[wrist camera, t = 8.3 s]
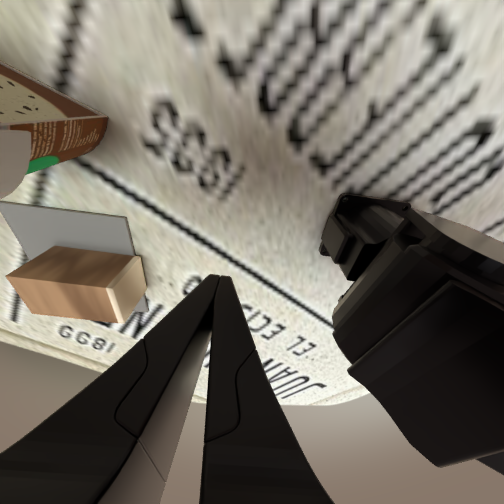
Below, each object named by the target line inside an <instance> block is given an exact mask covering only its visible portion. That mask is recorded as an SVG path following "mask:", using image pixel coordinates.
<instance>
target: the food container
mask: <svg viewBox="0 0 504 504" xmlns="http://www.w3.org/2000/svg"><path fill="white" fill-rule="evenodd" d="M107 121H108V116H106V115H104V114H102V113H100V112H98V111H96V110H94V109H92V108H90V107H88V106H87V105H85V104H83V103H81V102H79V101H77V100H75V99H73V98H71V97H69V96H67V95H65V94H63V93H61V92H59V91H58V90H56V89H54V88H52V87H50V86H48V85H46V84H44V83H42V82H40V81H38V80H36V79H34V78H32V77H30V76H29V75H27V74H25V73H23V72H21V71H19V70H17V69H15V68H13V67H11V66H9V65H7V64H5V63H3V62H2V61H0V199H2V198H4V197H5V196H7V195H9V194H10V193H12V192H13V191H14V190H15V189H16V188H17V187H18V186H19V185H20V183H21V182H22V180H23V178H24V176H25V175H27V174H29V173H32V172H35V171H38V170H41V169H44V168H47V167H50V166H52V165H55V164H58V163H61V162H64V161H67V160H70V159H73V158H75V157H78V156H81V155H84V154H87V153H89V152H90V151H92V150H93V149H94V148H95V147H96V146H97V145H98V144H99V143H100V141H101V140H102V138H103V136H104V133H105V131H106V128H107Z"/></svg>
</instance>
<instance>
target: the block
mask: <svg viewBox="0 0 504 504" xmlns="http://www.w3.org/2000/svg"><path fill="white" fill-rule="evenodd" d="M6 278H7V279H8V280H9V282H10V283H11V285H12V286H13V287H14V289H15V290H16V292H17V293H18V294H19V296H20V297H21V299H22V300H23V301H24V303H25V304H26V306H27V307H28V308H29V310H30V311H31V313H32V314H40V315H50V316H59V317H68V318H77V319H86V320H95V321H104V322H113V323H123V324H124V323H125V322H126V320H127V319H128V317H129V316H130V314H131V313H132V311H133V310H134V308H135V307H136V305H137V304H138V302H139V301H140V299H141V298H142V296H143V294H144V293H145V291H146V290H147V287H146V282H145V277H144V273H143V268H142V263H141V258H140V257H139V256H131V255H123V254H116V253H108V252H100V251H93V250H85V249H77V248H70V247H62V246H53V247H51V248H50V249H48V250H47V251H45V252H43V253H42V254H40V255H39V256H37V257H35V258H34V259H32V260H30V261H29V262H27V263H26V264H24V265H22V266H21V267H19V268H18V269H16V270H14V271H13V272H11V273H9V274H8V275H6Z"/></svg>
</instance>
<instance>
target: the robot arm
mask: <svg viewBox="0 0 504 504" xmlns="http://www.w3.org/2000/svg"><path fill="white" fill-rule="evenodd" d="M346 197H347V200H346V201H343V199H344V198H346ZM404 206H405V208H404V209H402V208H403V207H404ZM321 239H322V243H321V246H320V248H319V252H320V254H321V255H323V256H331V258H332V260H333V262H334V263H335V264H339V266H340V268H341V270H342V271H343V273H344V275H345V277H346V279H347V280H349V281H354V283H353V284H352V285H351V286H350V288H349V289H348V290H347V291H346V293H345V294H344V295H342V296H341V297H340V298H339V300H338V305H337V306H336V307H335V308H334V311H333V315H332V320H333V326H334V331H333V333H332V334H333V337H334V339H335V341H336V343H337V345H338V347H339V348H340V350H341V351H342V353H343V354H344V356H345V357H346V358H347V360H348V361H349V362H350V363H351V364H352V366H350V367H349V368H348V369H347V371H348V373H349V375H350V376H352V377H353V378H354V379H355V380H357V381H358V382H359V383H361V384H362V385H363V386H364V387H366V389H367V390H368V391H369V392H370V393H371V394H372V395H373V396H374V397H375V398H376V399H377V400H378V401H379V402H380V403H381V405H382V406H383V407H384V408H385V410H386V411H387V412H388V414H389V415H390V416H391V418H392V419H393V421H394V422H395V423H396V425H397V426H398V428H399V429H400V431H401V432H402V433H403V435H404V436H405V438H406V439H407V440H408V442H409V443H410V444H411V445H412V446H413V447H414V448H416V450H418V451H419V452H420V453H421V454H422V455H423V456H425V457H426V458H427V459H428V460H429V461H430V462H432V464H434V465H435V466H437V467H440V468H442V467H446V466H450V465H454V464H458V463H462V462H465V461H469V460H473V459H476V460H478V461H479V462H481V463H483V464H485V465H486V466H488V467H490V468H492V469H493V470H495V471H497V472H499V473H501V474H502V475H504V243H503V242H500V241H498V240H496V239H494V238H492V237H490V236H488V235H485V234H483V233H481V232H479V231H477V230H475V229H472V228H470V227H467V226H464V225H461V224H459V223H456V222H453V221H450V220H447V219H444V218H441V217H438V216H435V215H432V214H429V213H426V212H423V211H420V210H417V209H414V208H411V205H410V204H409V203H408V202H405V201H398V200H391V199H384V198H377V197H369V196H362V195H355V194H348V193H344V194H341V195H340V196H339V198H338V201H337V204H336V206H335V209H334V211H333V214H332V215H331V216H329V219H328V221H327V224H326V227H325V230H324V232H323V235H322V238H321ZM323 250H326V251H324V252H323ZM210 338H211V347H210V361H209V376H208V390H207V404H206V419H205V434H204V447H203V461H202V474H201V487H200V499H199V504H335V503H334V502H333V500H332V499H331V498H330V496H329V495H328V494H327V492H326V491H325V489H324V488H323V486H322V485H321V483H320V482H319V480H318V478H317V477H316V475H315V473H314V472H313V470H312V468H311V466H310V464H309V463H308V461H307V459H306V457H305V455H304V453H303V451H302V449H301V447H300V445H299V443H298V441H297V439H296V437H295V435H294V433H293V431H292V429H291V427H290V425H289V423H288V421H287V419H286V416H285V415H284V412H283V411H282V408H281V406H280V404H279V402H278V400H277V398H276V396H275V394H274V392H273V389H272V387H271V385H270V383H269V381H268V378H267V376H266V373H265V371H264V368H263V366H262V363H261V360H260V357H259V355H258V352H257V350H256V346H255V344H254V341H253V338H252V335H251V332H250V329H249V327H248V324H247V321H246V318H245V315H244V312H243V309H242V307H241V304H240V301H239V298H238V295H237V292H236V290H235V287H234V284H233V281H232V278H231V277H230V276H223V275H222V276H220V275H215V274H210V275H208V276H207V277H206V278H205V279H204V280H203V281H202V282H201V283H200V284H199V285H198V286H197V287H196V288H195V289H194V290H192V291H191V292H190V293H189V294H188V295H187V296H186V297H185V298H184V299H183V300H182V301H181V302H180V303H179V304H178V305H177V306H176V307H175V308H173V309H172V310H171V311H170V312H169V313H168V314H167V315H166V316H165V317H164V318H163V319H162V320H161V321H160V322H159V323H158V324H157V325H156V326H154V327H153V328H152V329H151V330H150V331H149V332H148V333H147V334H146V335H145V336H144V339H141V340H139V341H138V342H137V343H136V344H135V345H134V346H133V347H132V348H131V349H130V350H129V351H128V352H127V353H126V354H124V355H123V356H122V357H121V358H120V359H119V360H118V361H117V362H116V363H114V364H113V365H112V366H111V367H110V368H108V369H107V370H106V371H105V372H104V373H102V374H101V375H100V376H99V377H98V378H96V379H95V380H94V381H93V382H92V383H90V384H89V385H88V386H87V387H85V388H84V389H83V390H82V391H80V392H79V393H78V394H77V395H75V396H74V397H73V398H72V399H70V400H69V401H68V402H67V403H65V405H63V406H62V407H60V408H59V409H58V410H57V411H56V412H54V413H53V414H52V415H50V416H49V417H48V418H47V419H45V420H44V421H43V422H42V423H41V424H39V425H38V426H37V427H36V428H34V429H33V430H32V431H30V432H29V433H28V434H27V435H25V436H24V437H23V438H22V439H20V440H19V441H17V442H16V443H14V444H13V445H12V446H10V447H9V448H7V449H6V450H4V451H3V452H1V453H0V504H160V500H161V497H162V494H163V491H164V487H165V482H166V481H167V477H168V474H169V471H170V468H171V465H172V461H173V458H174V455H175V452H176V448H177V445H178V442H179V439H180V435H181V432H182V429H183V425H184V422H185V418H186V416H187V412H188V409H189V406H190V403H191V399H192V396H193V393H194V390H195V386H196V383H197V380H198V377H199V373H200V370H201V367H202V364H203V360H204V357H205V354H206V351H207V347H208V344H209V341H210Z"/></svg>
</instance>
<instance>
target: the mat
mask: <svg viewBox="0 0 504 504" xmlns="http://www.w3.org/2000/svg"><path fill="white" fill-rule="evenodd" d="M0 212H1V213H2V215H3V217H4V218H5V220H6V222H7V223H8V225H9V227H10V228H11V230H12V231H13V233H14V235H15V236H16V238H17V240H18V241H19V243H20V245H21V246H22V248H23V250H24V251H25V253H26V254H27V256H28V258H29V259H30V260H32V259H34V258H35V257H37V256H39V255H40V254H42V253H43V252H45V251H47V250H48V249H50V248H51V247H53V246H62V247H70V248H77V249H85V250H93V251H100V252H108V253H116V254H123V255H131V256H136V255H135V251H134V247H133V243H132V239H131V235H130V230H129V226H128V222H127V218H126V217H121V216H113V215H105V214H97V213H89V212H81V211H73V210H66V209H58V208H50V207H42V206H34V205H26V204H18V203H10V202H3V201H0ZM133 311H138V312H147V313H148V311H149V310H148V305H147V301H146V297H145V293H144V294H143V296H142V298H141V299H140V301H139V302H138V304H137V305H136V307H135V308H134V310H133Z"/></svg>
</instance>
